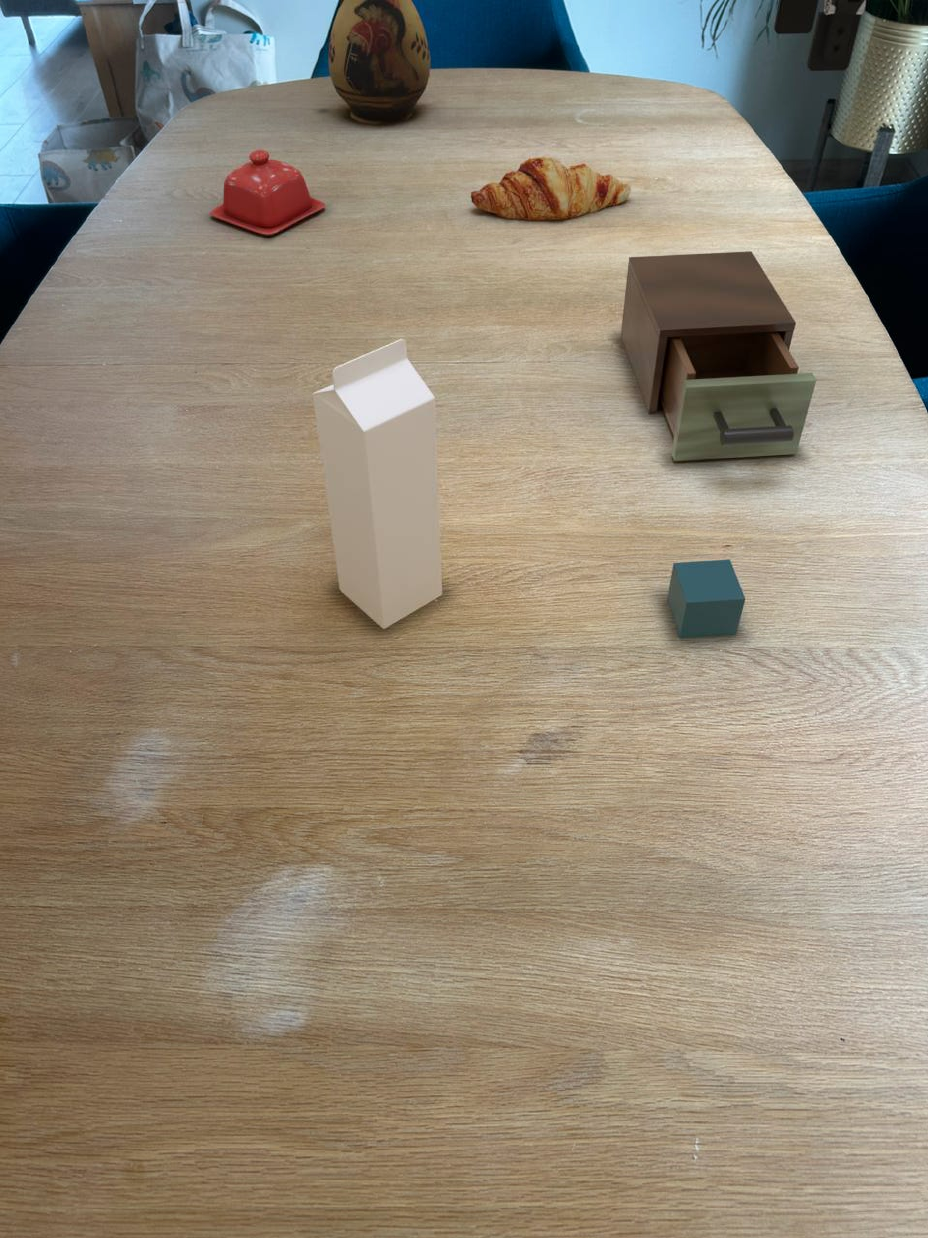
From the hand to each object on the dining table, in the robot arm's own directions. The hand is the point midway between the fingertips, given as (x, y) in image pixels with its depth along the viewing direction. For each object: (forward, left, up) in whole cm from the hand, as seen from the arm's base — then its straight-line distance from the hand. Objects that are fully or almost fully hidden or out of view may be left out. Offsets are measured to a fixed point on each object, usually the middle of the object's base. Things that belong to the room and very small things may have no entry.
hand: (808, 49), depth 83 cm
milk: (+37, +31, -30) cm, 57 cm away
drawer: (+5, +12, -29) cm, 32 cm away
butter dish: (+51, -42, -30) cm, 73 cm away
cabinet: (+5, +1, -30) cm, 30 cm away
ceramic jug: (+36, -78, -30) cm, 91 cm away
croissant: (+14, -40, -30) cm, 52 cm away
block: (+13, +36, -30) cm, 49 cm away
